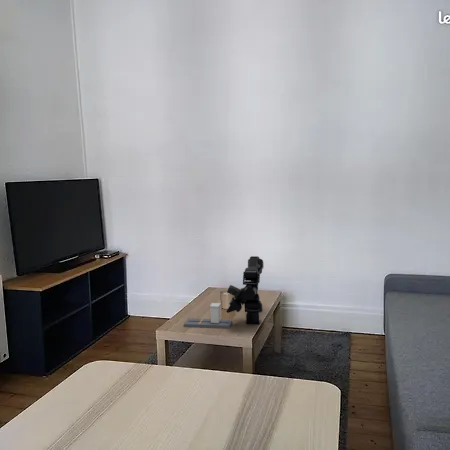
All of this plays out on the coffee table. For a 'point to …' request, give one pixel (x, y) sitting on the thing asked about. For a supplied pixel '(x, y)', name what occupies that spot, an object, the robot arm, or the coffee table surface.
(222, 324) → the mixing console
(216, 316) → the fader knob
